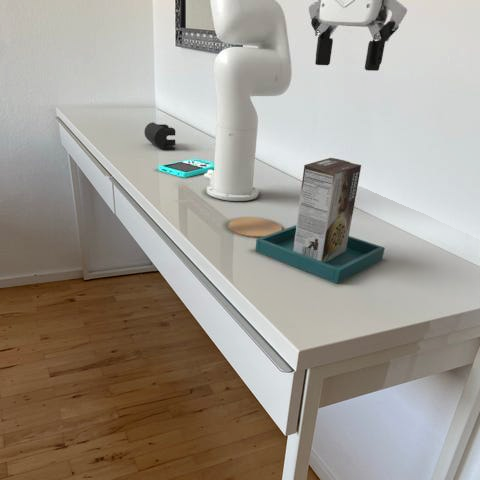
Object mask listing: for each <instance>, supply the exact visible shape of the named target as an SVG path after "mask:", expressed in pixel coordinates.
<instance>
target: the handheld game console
mask: <svg viewBox="0 0 480 480" xmlns="http://www.w3.org/2000/svg"><path fill="white" fill-rule="evenodd" d="M209 169H211V170H214V162H213V161H209V160H205V159H201V158H189V159H186V160H180V161H176V162H175V161H174V162H171V163H166V164H161V165H158V169H157V170H158V172H159V171H160V172H162V173H166V174H170V175H174V176H177V177H181V178H190V177H193V176H197V175H201V174H205V173H207V171H208V170H209Z"/></svg>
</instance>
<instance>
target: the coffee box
mask: <svg viewBox="0 0 480 480" xmlns="http://www.w3.org/2000/svg"><path fill="white" fill-rule="evenodd" d="M361 169H362V164H358V163H354V162H351V161H347V160H345V159H340V158H335V157H329V158H328V157H327V158H325V159H322V160H317V161H314V162H310V163H306V164H304V165H303V173H302V180H301V189H300V195H299V196H300V197H299V203H298V212H297V220H296V225H297V226H296V233H295V241H294V249H293V251H295V252H297V253H300V254H303V255H305V256H308V257H311V258H313V259H316V260H319V261H321V262H324V263H325V262H327V261H329V260H331V259H333V258H335V257H336V256H338V255H340V254H342V253H344V252H346V248H347V242H348V237H349V236H350V230H351V225H352V219H353V214H354V208H355V203H356V197H357V191H358V187H359V181H360V175H361Z"/></svg>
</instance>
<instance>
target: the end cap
mask: <svg viewBox="0 0 480 480" xmlns="http://www.w3.org/2000/svg"><path fill="white" fill-rule="evenodd" d="M143 133H144V137H145V139H146V140H147V141H148V142H149V143H151V144H152V145H154V146H155V147H157V148H158V149H160V150H162V151H174V150H175V149H176V147H175V146H176V139H168V137H169V136H171V137H173V136H175V137H176V129H175V128H173V127H169V125H168V124H158V123H156V122H153V121H152V122H149V123H148V124H146V126H145V128H144V132H143Z"/></svg>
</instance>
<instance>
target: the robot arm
mask: <svg viewBox="0 0 480 480" xmlns="http://www.w3.org/2000/svg"><path fill="white" fill-rule="evenodd" d="M209 3H210V10H211V15H212V22H213V27H214V32H215V35H216V36H217V39H218V41H220V42H222V43H224V44H228V45H234V46H231V47H226V48H224V49H222V50H221V51H220V52H218V54H217V56H216V57H215V60H214V62H213V63H214V64H213V79H214V86H215V100H216V113H215V115H216V116H215V120H216V121H215V143H214V160H213V161H214V162H213V163H214V170H211V169H209V170H208V171H207V172H206V173H203V178H204V179H206V180H210V182H209V183H210V184H209V185H208V186H207V187H206V193H207V195H208V196H210V197H212V198H215V199H219V200H222V201H223V200H224V201H230V202H246V201H252V200H255V199H257V198H258V197H259V189H257V188H256V187H254V174H255V164H256V163H255V162H256V151H257V149H256V148H257V141H258V140H257V139H258V130H259V129H258V126H259V117H258V113H257V110H256V107H255V105H254V103H253V101H252V99H251V97H278V96H281V95H283V94H285V93H286V92H287V90H288V89H289V87H290V86H291V81H292V74H293V73H292V72H293V71H292V68H293V67H292V59H291V49H290V43H289V34H288V28H287V22H286V21H287V20H286V16H285V12H284V9H283V7H282V6H281V4H280V3H279V2H278V1H277V0H209ZM389 11H390V12H391V16H390V19H389V21H387V19H388V15H389ZM407 12H408V9H407V7H405V6H404V5H403V4H402V3H400V2H399V1H398V0H316V1H314V2H313V3H312V4H310V5H309V6H308V13H309V16H310V20H311V21H310V24H311V27H312V29H313V31H314V36H315V38H317V44H316V51H315V61H314V63H315V65H316V66H329V65H330V64H331V58H332V52H333V43H334V38H331V36H332V35H333V33H334V32H335V31H336V29H337V28H338V27H339V26H341V27H361V28H362V27H363V28H368V30H369V33H370V35H371V37H372V40H369V42H368V45H367V51H366V58H365V63H364V70H365V71H370V72H371V71H372V72H377V71H379V70H380V66H381V64H382V61H383V57H384V51H385V45H386V43H388V42H389V40H390V38H391V37H392V35H394V34H395V33H396V31H397V30H399V27H400V24H401V23H402V21H403V20H404V18H405V16H406V14H407ZM250 46H251V47H250Z"/></svg>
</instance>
